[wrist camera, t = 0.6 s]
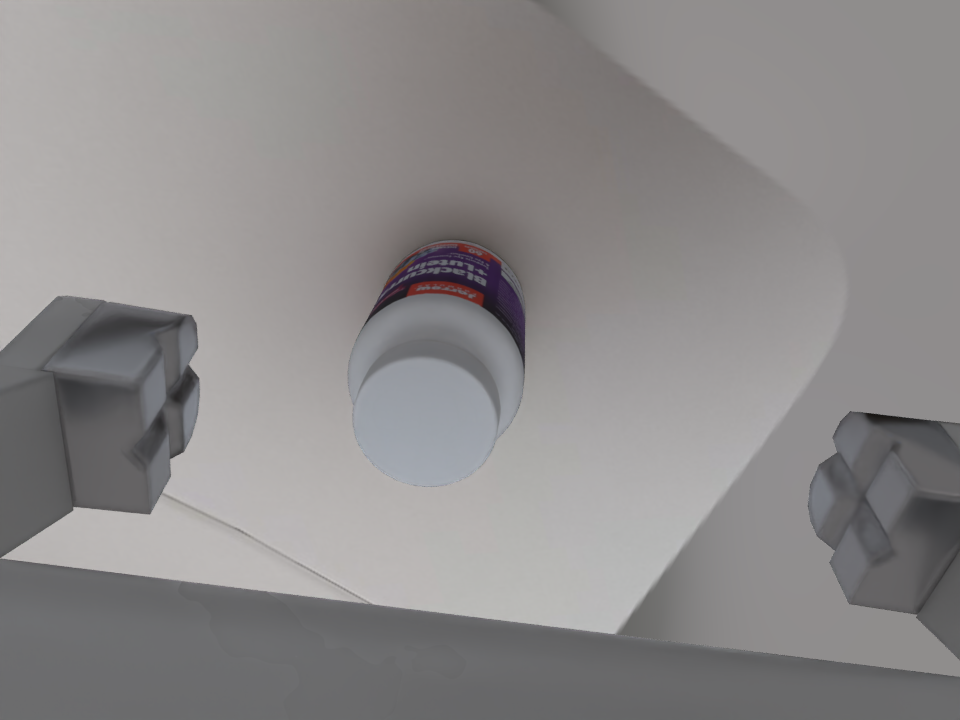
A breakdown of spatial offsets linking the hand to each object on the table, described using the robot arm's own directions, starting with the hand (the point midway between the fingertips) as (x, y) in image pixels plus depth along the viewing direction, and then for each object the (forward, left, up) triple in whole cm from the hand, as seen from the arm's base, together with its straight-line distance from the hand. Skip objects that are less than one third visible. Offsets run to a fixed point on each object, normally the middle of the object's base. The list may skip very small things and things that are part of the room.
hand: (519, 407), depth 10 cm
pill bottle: (+6, 0, -20) cm, 21 cm away
